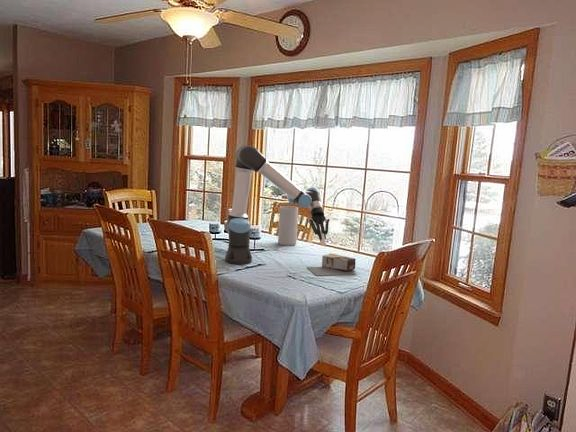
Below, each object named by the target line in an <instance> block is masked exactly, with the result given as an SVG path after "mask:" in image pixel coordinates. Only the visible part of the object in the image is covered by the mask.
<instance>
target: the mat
mask: <svg viewBox="0 0 576 432" xmlns="http://www.w3.org/2000/svg"><path fill="white" fill-rule="evenodd" d="M306 268H307V270H309V271H310V272H311V273H312V274H313V275H314V276H316V277H329V276H334V275H335V276H356V273H355V272H353V270H352V271H349V272H344V271H340V270H335V269H331V268H327V267H323V266H307V267H306Z"/></svg>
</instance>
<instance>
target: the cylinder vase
mask: <svg viewBox="0 0 576 432" xmlns="http://www.w3.org/2000/svg"><path fill="white" fill-rule="evenodd" d="M278 211H279V212H278V213H279V214H278V234H277V235H278V236H277V244H278V245H281V246H289V247H291V246H296V245H297V239H298V238H297V236H298V223H299V222H298V220H299V207H297V206H293V205H292V206H290V205H281V206H279V210H278Z"/></svg>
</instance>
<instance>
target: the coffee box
mask: <svg viewBox="0 0 576 432" xmlns="http://www.w3.org/2000/svg"><path fill="white" fill-rule="evenodd" d="M321 267H327V268H331V269H335V270H340V271H344V272H349V271H352V272H353V271H354V270H356V258H355V257H354V258H353V257H350V256H345V255H340V254H335V253H327V254H324V255H322V260H321Z"/></svg>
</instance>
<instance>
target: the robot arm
mask: <svg viewBox="0 0 576 432" xmlns="http://www.w3.org/2000/svg"><path fill="white" fill-rule="evenodd" d="M234 168H235V169H236V171H237V172H236V178H235V185H234V192H233V198H232V206H231V211H230V212H229V213H228V215H227V221H226V223H225V230H226V233H227V234H228V246H227V250H226V253H225V255H224V256H225V257H224V261H225V263H227V262H228V263H227V264H231V263H232V265H248V264H251V263H252V261H253V255H252V252H251V250H250V243H251V242H250V238H251V234H250V233H251V222H250V221H249V215H248V214H247V210H248V203H249V196H250V189H251V183H252V182H251V181H252V177H253V176H252V174H253V173H254V172H255V173H259V174H260V175H262V177H264V178H265V179H267V180H268V181H269V182H270V183H272V185H274V186H275V187H277V189H278V190H280V191H281V192H283V193H284V194H285V195H286V196H287V200H288V203H289V204H296V205H299V206H300V207H301V208H308V207H309V211H310V216H311V218H309V219H308V221H307V222H308V224H309V225H310V227H311V229H312V231H313V233H314V235H315V236H316V235H317V237H318V240H319V241H320V242H321V246H322V247H323V246H324V247H325V245H326V243H327V242H326V240H327V236H326V235H328V233H329V224H330V218H328V219H327V218H326V216H325V213H324V209H323V204H322V199H321V194H320V190H319V188H318V187H316V186H311V187H309V188H307V189H306V190H305V191H304V190H302V189H301V188H300V187H299V186H298V185H296V184H295V183H294V182H293V181H292V180H290V179H289V178H288V177H287V176H285V174H283V173H282V172H281V171H280V170H278V168H276V167H274V166H273V165H272V164H271V163H270V162H269V161H268V158H267V157H265V155H263V154H262V152H260V151H259V150H258V149H257V147H255V146H253V145H242V146H241V147H239V148H238V149H237V151H236V153H235V166H234ZM324 223H325V225H324Z"/></svg>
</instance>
